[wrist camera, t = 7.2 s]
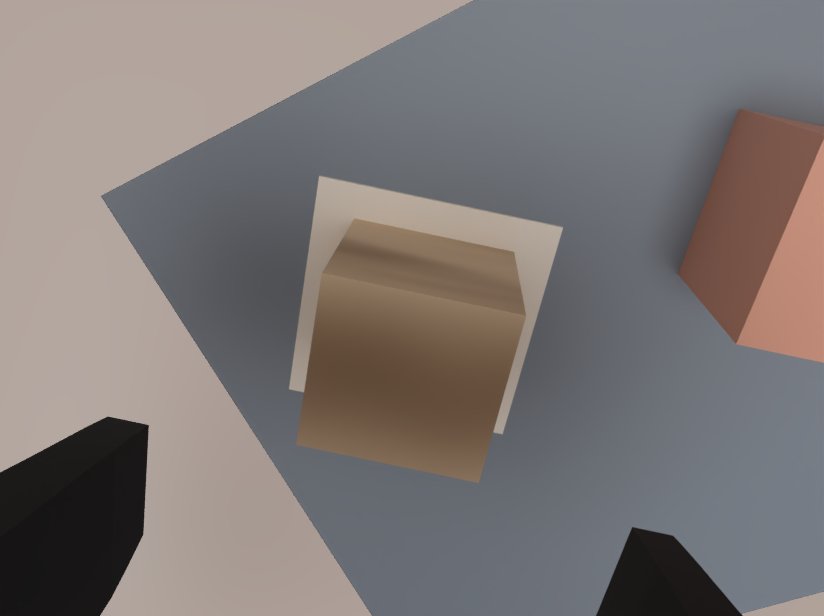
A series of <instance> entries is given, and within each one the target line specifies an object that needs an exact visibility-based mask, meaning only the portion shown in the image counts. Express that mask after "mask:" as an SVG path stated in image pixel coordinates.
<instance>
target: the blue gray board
mask: <svg viewBox="0 0 824 616" xmlns="http://www.w3.org/2000/svg"><path fill="white" fill-rule="evenodd" d="M739 109H744V110H749V111H753V112H758V113H763V114H768V115H772V116H777V117H782V118H786V119H791V120H796V121H801V122H805V123H810V124H815V125H819V126H824V0H473V1H472V2H470V3H468V4H466V5H464V6H462V7H460V8H458V9H456V10H454V11H453V12H450V13H449V14H447V15H445V16H443V17H441V18H439V19H437V20H436V21H433V22H431V23H430V24H428V25H426V26H424V27H422V28H420V29H418V30H416V31H414V32H412V33H410V34H409V35H407V36H405V37H403V38H401V39H399V40H397V41H395V42H393V43H391V44H390V45H388V46H386V47H384V48H382V49H380V50H378V51H376V52H374V53H372V54H371V55H369V56H367V57H365V58H363V59H361V60H359V61H357V62H356V63H353V64H352V65H350V66H348V67H346V68H344V69H342V70H340V71H338V72H336V73H334V74H333V75H331V76H329V77H327V78H325V79H323V80H321V81H319V82H317V83H315V84H313V85H312V86H310V87H308V88H306V89H304V90H302V91H300V92H298V93H296V94H294V95H292V96H290V97H289V98H287V99H285V100H283V101H281V102H279V103H277V104H275V105H273V106H271V107H270V108H268V109H266V110H264V111H262V112H260V113H258V114H256V115H254V116H252V117H251V118H249V119H247V120H245V121H243V122H241V123H239V124H237V125H235V126H233V127H231V128H230V129H228V130H226V131H224V132H222V133H220V134H218V135H216V136H215V137H212V138H211V139H209V140H207V141H205V142H203V143H201V144H199V145H197V146H195V147H193V148H191V149H190V150H188V151H186V152H184V153H182V154H180V155H178V156H177V157H174V158H172V159H171V160H169V161H167V162H165V163H163V164H161V165H159V166H157V167H155V168H153V169H152V170H150V171H148V172H146V173H144V174H142V175H140V176H138V177H136V178H135V179H132V180H131V181H129V182H127V183H125V184H123V185H121V186H119V187H117V188H115V189H113V190H112V191H110V192H108V193H106V194H104V195H102V196H101V197H102V198H103V200H104V201H105V203H106V205H107V206H108V208H109V209H110V211H111V212H112V214H113V216H114V217H115V219H116V220H117V222H118V223H119V225H120V226H121V228H122V229H123V231H124V233H125V234H126V236H127V237H128V239H129V240H130V242H131V243H132V245H133V246H134V248H135V249H136V251H137V253H138V254H139V256H140V257H141V259H142V260H143V262H144V263H145V265H146V267H147V268H148V270H149V271H150V273H151V274H152V276H153V277H154V279H155V280H156V282H157V284H158V285H159V287H160V288H161V290H162V291H163V293H164V294H165V296H166V298H167V299H168V301H169V302H170V304H171V305H172V307H173V308H174V310H175V311H176V313H177V314H178V316H179V318H180V319H181V321H182V322H183V324H184V325H185V327H186V328H187V330H188V332H189V333H190V335H191V336H192V338H193V339H194V341H195V342H196V344H197V345H198V347H199V349H200V350H201V352H202V353H203V355H204V356H205V358H206V359H207V361H208V363H209V364H210V366H211V367H212V369H213V370H214V372H215V373H216V375H217V376H218V378H219V380H220V381H221V383H222V384H223V386H224V387H225V389H226V390H227V392H228V393H229V395H230V396H231V398H232V400H233V401H234V403H235V404H236V406H237V407H238V409H239V410H240V412H241V414H242V415H243V417H244V418H245V420H246V421H247V423H248V424H249V426H250V428H251V429H252V431H253V432H254V434H255V435H256V437H257V438H258V440H259V441H260V443H261V444H262V446H263V448H264V449H265V451H266V452H267V454H268V455H269V457H270V458H271V460H272V461H273V463H274V464H275V466H276V468H277V469H278V471H279V472H280V474H281V475H282V477H283V478H284V480H285V482H286V483H287V485H288V486H289V488H290V489H291V491H292V492H293V494H294V496H295V497H296V498H297V500H298V502H299V503H300V505H301V506H302V508H303V509H304V511H305V512H306V514H307V516H308V517H309V519H310V520H311V522H312V523H313V525H314V527H315V528H316V529H317V531H318V532H319V534H320V536H321V537H322V539H323V540H324V542H325V544H326V545H327V547H328V548H329V550H330V551H331V553H332V554H333V556H334V558H335V559H336V561H337V562H338V564H339V565H340V567H341V568H342V570H343V571H344V573H345V575H346V576H347V578H348V579H349V581H350V582H351V584H352V585H353V587H354V588H355V590H356V592H357V593H358V595H359V596H360V598H361V599H362V601H363V602H364V604H365V605H366V607H367V609H368V610H369V612H370V613H371V615H372V616H596V615H597V612H598V610H599V607H600V605H601V602H602V600H603V597H604V595H605V592H606V590H607V588H608V585H609V583H610V580H611V578H612V575H613V573H614V570H615V568H616V565H617V563H618V561H619V558H620V556H621V553H622V551H623V548H624V546H625V543H626V541H627V538H628V536H629V533H630V531H631V529H632V527H635V528H639V529H644V530H649V531H654V532H658V533H663V534H668V535H673V536H674V537H675V538H676V539H677V540H678V541H679V542H680V543H681V544H682V546H683V547H684V548H685V549H686V550H687V551H688V552H689V553H690V555H691V556H692V557H693V558H694V559H695V560H696V561H697V563H698V564H699V565H700V566H701V567H702V568H703V570H704V571H705V572H706V573H707V574H708V575H709V577H710V578H711V579H712V580H713V581H714V583H715V584H716V585H717V586H718V587H719V588H720V590H721V591H722V592H723V593H724V594H725V596H726V597H727V598H728V599H729V600H730V601H731V603H732V604H733V605H734V606H735V607H736V609H737V610H738V611H739V612H740V613H741V614H742V613H746V612H750V611H754V610H757V609H761V608H765V607H768V606H772V605H776V604H779V603H783V602H787V601H790V600H794V599H798V598H802V597H805V596H809V595H812V594H816V593H820V592H824V363H822V362H818V361H813V360H808V359H804V358H799V357H794V356H789V355H785V354H780V353H775V352H770V351H766V350H761V349H756V348H751V347H747V346H742V345H737V344H736V343H735V342H734V341H733V340H732V339H731V337H730V336H729V335H728V334H727V333H726V331H725V330H724V329H723V328H722V327H721V325H720V324H719V323H718V322H717V321H716V319H715V318H714V317H713V316H712V315H711V313H710V312H709V311H708V310H707V309H706V307H705V306H704V305H703V304H702V302H701V301H700V300H699V299H698V298H697V296H696V295H695V294H694V293H693V292H692V290H691V289H690V288H689V287H688V286H687V284H686V283H685V282H684V281H683V280H682V278H681V277H680V276H679V275H678V272H679V270H680V267H681V264H682V262H683V259H684V256H685V254H686V251H687V248H688V245H689V243H690V240H691V237H692V235H693V232H694V229H695V227H696V224H697V221H698V219H699V216H700V213H701V211H702V208H703V205H704V203H705V200H706V197H707V194H708V192H709V189H710V186H711V184H712V181H713V178H714V176H715V173H716V170H717V168H718V165H719V162H720V160H721V157H722V154H723V151H724V149H725V146H726V143H727V141H728V138H729V135H730V133H731V130H732V127H733V125H734V122H735V119H736V117H737V114H738V111H739ZM354 218H355V219H360V220H365V221H370V222H374V223H379V224H384V225H389V226H393V227H398V228H403V229H408V230H412V231H417V232H422V233H427V234H432V235H436V236H441V237H446V238H451V239H455V240H460V241H465V242H470V243H474V244H479V245H484V246H489V247H493V248H498V249H503V250H508V251H512V252H514V254H515V259H516V265H517V270H518V275H519V280H520V286H521V291H522V296H523V301H524V307H525V312H526V318H525V322H524V326H523V329H522V333H521V336H520V340H519V343H518V347H517V350H516V354H515V357H514V361H513V364H512V368H511V371H510V375H509V378H508V382H507V385H506V389H505V392H504V396H503V399H502V403H501V406H500V410H499V414H498V417H497V421H496V424H495V428H494V431H493V435H492V438H491V442H490V445H489V449H488V452H487V456H486V459H485V463H484V466H483V470H482V473H481V477H480V480H479V483H476V482H471V481H466V480H461V479H457V478H452V477H447V476H442V475H438V474H433V473H428V472H423V471H419V470H414V469H409V468H404V467H399V466H395V465H390V464H385V463H380V462H376V461H371V460H366V459H361V458H356V457H352V456H347V455H342V454H337V453H333V452H328V451H323V450H318V449H313V448H309V447H304V446H299V445H296V442H297V435H298V429H299V422H300V415H301V409H302V402H303V395H304V389H305V382H306V375H307V369H308V362H309V355H310V349H311V342H312V335H313V329H314V322H315V315H316V309H317V302H318V295H319V289H320V282H321V275H322V272H323V270H324V269H325V267H326V265H327V264H328V262H329V260H330V259H331V257H332V255H333V253H334V252H335V250H336V248H337V247H338V245H339V243H340V242H341V240H342V238H343V237H344V235H345V233H346V232H347V230H348V228H349V227H350V225H351V223H352V222H353V220H354Z"/></svg>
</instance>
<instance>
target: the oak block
mask: <svg viewBox="0 0 824 616" xmlns="http://www.w3.org/2000/svg"><path fill="white" fill-rule="evenodd" d="M525 318H526V312H525V307H524V301H523V296H522V291H521V286H520V280H519V275H518V270H517V265H516V259H515V254H514V252H512V251H508V250H503V249H498V248H493V247H489V246H484V245H479V244H474V243H470V242H465V241H460V240H455V239H451V238H446V237H441V236H436V235H432V234H427V233H422V232H417V231H412V230H408V229H403V228H398V227H393V226H389V225H384V224H379V223H374V222H370V221H365V220H360V219H355V218H354V220H353V222H352V223H351V225H350V227H349V228H348V230H347V232H346V233H345V235H344V237H343V238H342V240H341V242H340V243H339V245H338V247H337V248H336V250H335V252H334V253H333V255H332V257H331V259H330V260H329V262H328V264H327V265H326V267H325V269H324V270H323V272H322V275H321V282H320V289H319V295H318V302H317V309H316V315H315V322H314V329H313V335H312V342H311V349H310V355H309V362H308V369H307V375H306V382H305V389H304V395H303V402H302V409H301V415H300V422H299V429H298V435H297V442H296V445H299V446H304V447H309V448H313V449H318V450H323V451H328V452H333V453H337V454H342V455H347V456H352V457H356V458H361V459H366V460H371V461H376V462H380V463H385V464H390V465H395V466H399V467H404V468H409V469H414V470H419V471H423V472H428V473H433V474H438V475H442V476H447V477H452V478H457V479H461V480H466V481H471V482H476V483H479V480H480V477H481V473H482V470H483V466H484V463H485V459H486V456H487V452H488V449H489V445H490V442H491V438H492V435H493V431H494V428H495V424H496V421H497V417H498V414H499V410H500V406H501V403H502V399H503V396H504V392H505V389H506V385H507V382H508V378H509V375H510V371H511V368H512V364H513V361H514V357H515V354H516V350H517V347H518V343H519V340H520V336H521V333H522V329H523V326H524V322H525Z"/></svg>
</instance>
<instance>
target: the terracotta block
mask: <svg viewBox="0 0 824 616" xmlns="http://www.w3.org/2000/svg"><path fill="white" fill-rule="evenodd" d="M678 275H679V276H680V277H681V278H682V280H683V281H684V282H685V283H686V284H687V286H688V287H689V288H690V289H691V290H692V292H693V293H694V294H695V295H696V296H697V298H698V299H699V300H700V301H701V302H702V304H703V305H704V306H705V307H706V309H707V310H708V311H709V312H710V313H711V315H712V316H713V317H714V318H715V319H716V321H717V322H718V323H719V324H720V325H721V327H722V328H723V329H724V330H725V331H726V333H727V334H728V335H729V336H730V337H731V339H732V340H733V341H734V342H735V343H736V344H737V345H742V346H747V347H751V348H756V349H761V350H766V351H770V352H775V353H780V354H785V355H789V356H794V357H799V358H804V359H808V360H813V361H818V362H822V363H824V126H819V125H815V124H810V123H805V122H801V121H796V120H791V119H786V118H782V117H777V116H772V115H768V114H763V113H758V112H753V111H749V110H744V109H739V111H738V114H737V117H736V119H735V122H734V125H733V127H732V130H731V133H730V135H729V138H728V141H727V143H726V146H725V149H724V151H723V154H722V157H721V160H720V162H719V165H718V168H717V170H716V173H715V176H714V178H713V181H712V184H711V186H710V189H709V192H708V194H707V197H706V200H705V203H704V205H703V208H702V211H701V213H700V216H699V219H698V221H697V224H696V227H695V229H694V232H693V235H692V237H691V240H690V243H689V245H688V248H687V251H686V254H685V256H684V259H683V262H682V264H681V267H680V270H679V272H678Z"/></svg>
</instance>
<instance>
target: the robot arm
mask: <svg viewBox="0 0 824 616" xmlns="http://www.w3.org/2000/svg"><path fill="white" fill-rule="evenodd" d="M148 427H149V426H148V425H145V424H141V423H136V422H131V421H126V420H121V419H117V418H112V417H106V418H104V419H102V420H100V421H98V422H96V423H94V424H92V425H90V426H88V427H86V428H84V429H82V430H80V431H78V432H76V433H74V434H73V435H71V436H69V437H67V438H65V439H63V440H61V441H59V442H58V443H56V444H54V445H52V446H50V447H48V448H46V449H44V450H43V451H41V452H39V453H37V454H35V455H33V456H31V457H29V458H27V459H26V460H24V461H22V462H20V463H18V464H16V465H14V466H12V467H10V468H8V469H6V470H4V471H3V472H0V616H100V615H101V613H102V611H103V610H104V608H105V607H106V605H107V604H108V602H109V601H110V599H111V597H112V595H113V594H114V591H115V590H116V587H117V586H118V584H119V582H120V580H121V578H122V576H123V574H124V572H125V570H126V568H127V566H128V564H129V562H130V560H131V558H132V556H133V554H134V552H135V550H136V548H137V546H138V544H139V542H140V540H141V538H142V536H143V528H144V508H145V487H146V468H147V448H148ZM596 616H742V614H741V613H740V612H739V611H738V610H737V609H736V607H735V606H734V605H733V604H732V603H731V601H730V600H729V599H728V598H727V597H726V596H725V594H724V593H723V592H722V591H721V590H720V588H719V587H718V586H717V585H716V584H715V583H714V581H713V580H712V579H711V578H710V577H709V575H708V574H707V573H706V572H705V571H704V570H703V568H702V567H701V566H700V565H699V564H698V563H697V561H696V560H695V559H694V558H693V557H692V556H691V555H690V553H689V552H688V551H687V550H686V549H685V548H684V547H683V546H682V544H681V543H680V542H679V541H678V540H677V539H676V538H675V537H674V536H673V535H668V534H663V533H658V532H654V531H649V530H644V529H639V528H635V527H632V529H631V531H630V533H629V536H628V538H627V541H626V543H625V546H624V548H623V551H622V553H621V556H620V558H619V561H618V563H617V565H616V568H615V570H614V573H613V575H612V578H611V580H610V583H609V585H608V588H607V590H606V592H605V595H604V597H603V600H602V602H601V605H600V607H599V610H598V612H597V615H596Z"/></svg>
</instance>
